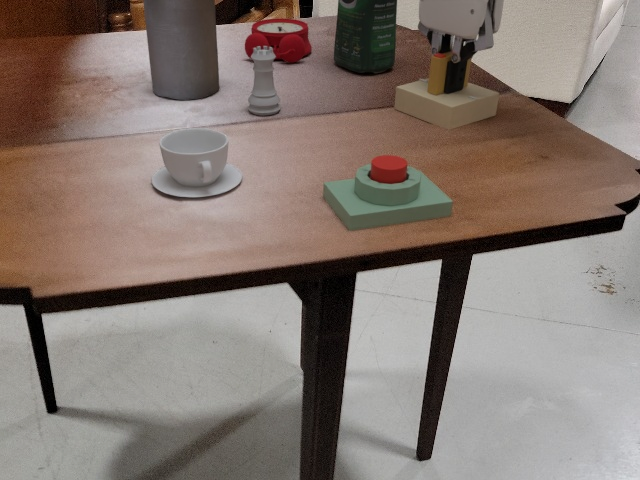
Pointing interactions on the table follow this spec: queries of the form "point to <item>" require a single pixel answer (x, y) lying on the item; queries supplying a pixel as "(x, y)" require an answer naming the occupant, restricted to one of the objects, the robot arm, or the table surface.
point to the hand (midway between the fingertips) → (446, 88)
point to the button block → (385, 200)
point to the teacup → (195, 164)
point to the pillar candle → (182, 47)
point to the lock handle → (441, 72)
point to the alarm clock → (280, 38)
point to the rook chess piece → (263, 84)
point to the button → (388, 169)
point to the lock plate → (446, 104)
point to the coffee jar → (366, 35)
